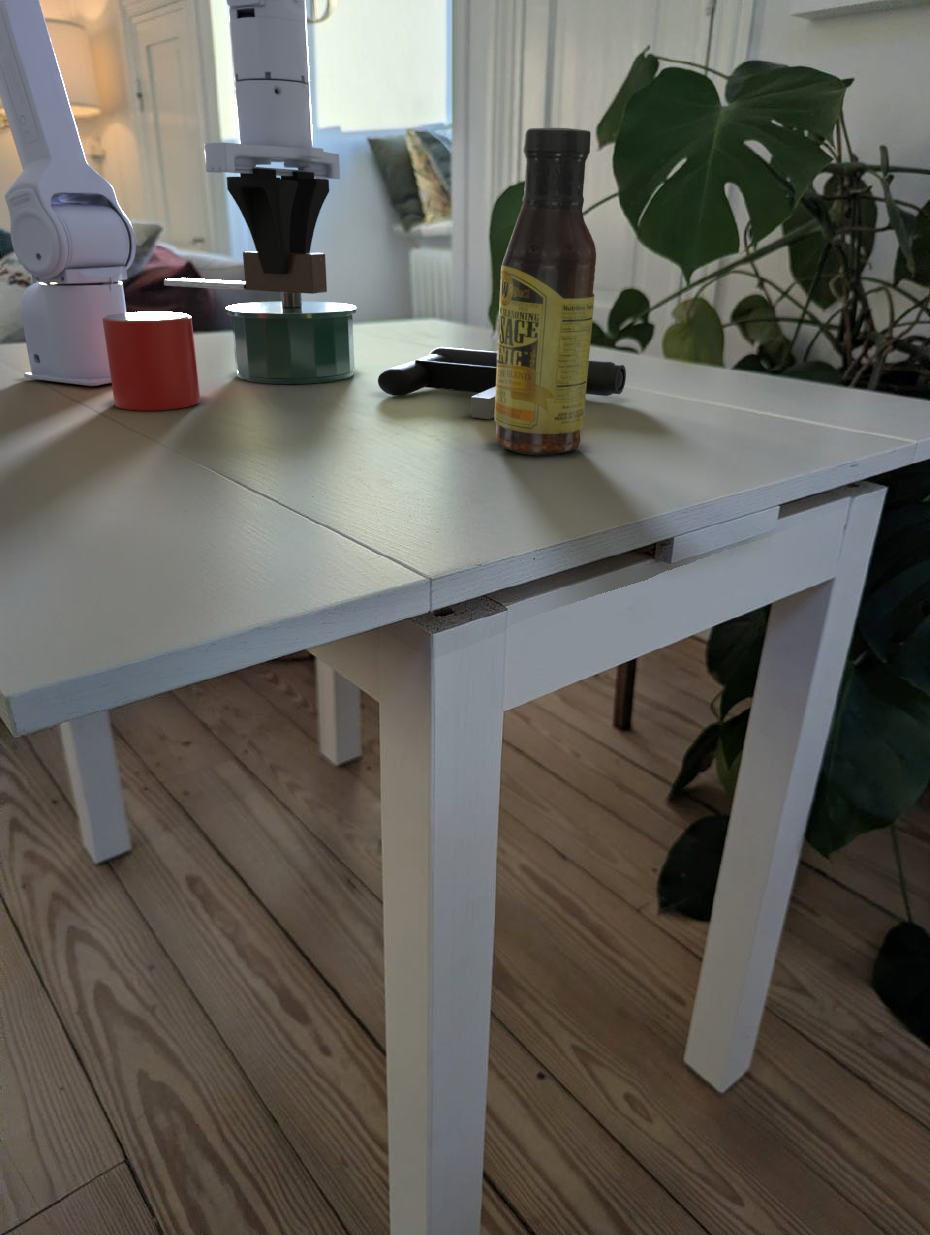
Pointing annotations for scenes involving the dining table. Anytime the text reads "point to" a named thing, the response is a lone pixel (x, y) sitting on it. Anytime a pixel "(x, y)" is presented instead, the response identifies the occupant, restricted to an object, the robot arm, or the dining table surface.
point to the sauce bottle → (546, 301)
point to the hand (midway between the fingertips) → (284, 273)
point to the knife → (271, 276)
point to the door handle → (480, 376)
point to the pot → (293, 349)
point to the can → (152, 360)
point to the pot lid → (291, 309)
